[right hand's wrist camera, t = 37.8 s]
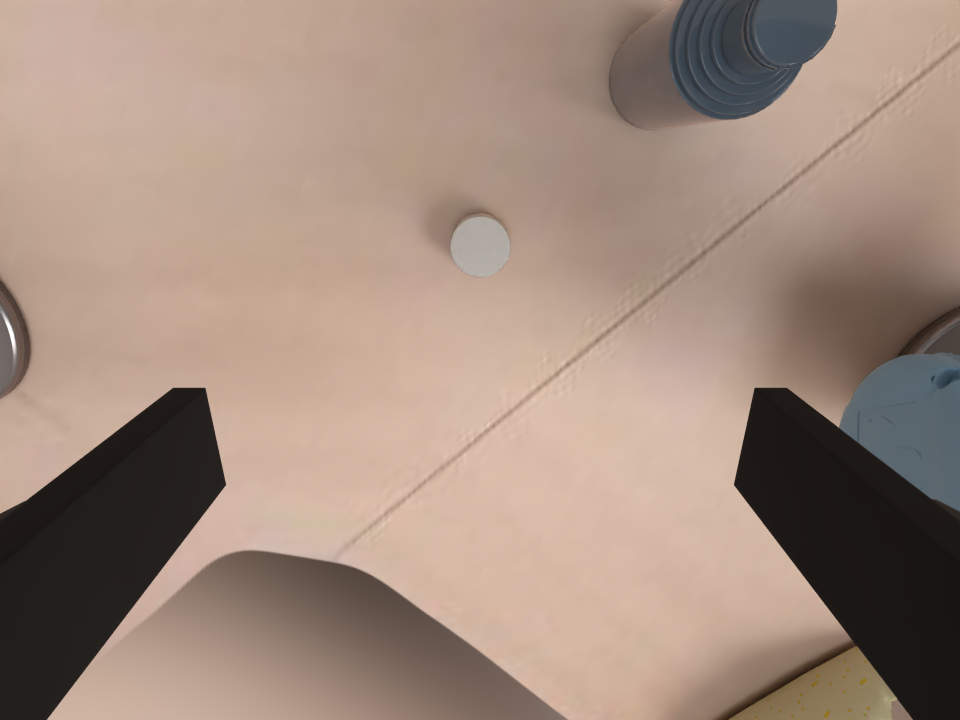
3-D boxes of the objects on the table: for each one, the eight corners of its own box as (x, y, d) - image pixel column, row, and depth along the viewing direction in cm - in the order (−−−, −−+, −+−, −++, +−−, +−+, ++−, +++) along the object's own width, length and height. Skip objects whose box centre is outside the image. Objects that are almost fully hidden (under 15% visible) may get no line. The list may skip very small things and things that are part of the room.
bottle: (596, 115, 37) (682, 88, 21) (628, 8, 35) (753, -114, 19) (683, 140, 38) (831, 132, 22) (722, 36, 35) (919, -58, 20)
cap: (518, 228, 40) (521, 233, 38) (493, 280, 42) (493, 287, 39) (466, 202, 39) (466, 205, 37) (442, 255, 41) (440, 261, 39)
